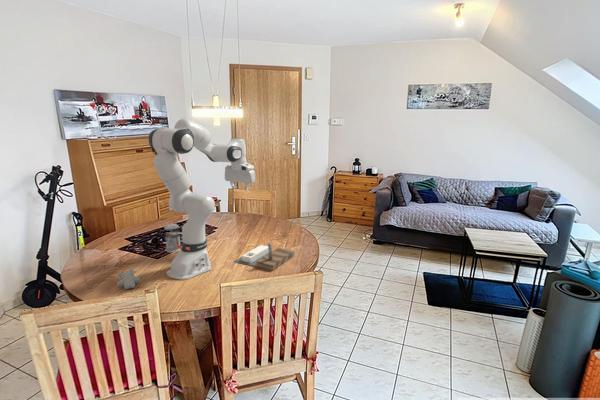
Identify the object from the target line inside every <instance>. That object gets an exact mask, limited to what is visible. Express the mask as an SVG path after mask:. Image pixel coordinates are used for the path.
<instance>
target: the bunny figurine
mask: <svg viewBox="0 0 600 400" xmlns="http://www.w3.org/2000/svg"><path fill="white" fill-rule="evenodd" d="M136 272H137V270H136V269H135V268H132V269H131V270H129V271H127V272H124V271H122V270H121V271H118V273H117V276H118V277H121V279H119V280H118V281H116V285H117V287H121V288H123V287H124V290H129V289H134V288H136V284H138V283H141V276H135V274H136Z"/></svg>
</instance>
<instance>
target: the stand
mask: <svg viewBox="0 0 600 400" xmlns="http://www.w3.org/2000/svg"><path fill="white" fill-rule="evenodd" d="M267 246H268V255H267V256H265V257H263V258H262V259H260V260H258V261H257V265H256V268H258V269H262V270H263V269H264V270H268V271H272V272H273V271H275V270H277V269H278V268H279V267H281V266H282V265H284V264H285V263H286V262H288V261H290V260H291V259H292V258H294V257H295V250H291V249H286V248H282V247H278V248H276V249H275V250H273V242H268V243H267ZM272 251H273V252H272Z"/></svg>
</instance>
